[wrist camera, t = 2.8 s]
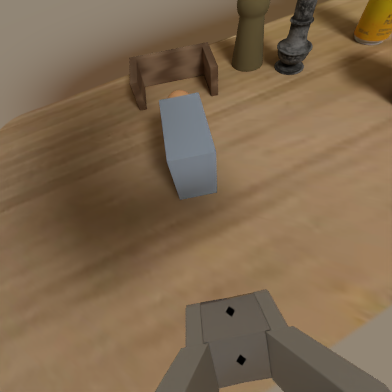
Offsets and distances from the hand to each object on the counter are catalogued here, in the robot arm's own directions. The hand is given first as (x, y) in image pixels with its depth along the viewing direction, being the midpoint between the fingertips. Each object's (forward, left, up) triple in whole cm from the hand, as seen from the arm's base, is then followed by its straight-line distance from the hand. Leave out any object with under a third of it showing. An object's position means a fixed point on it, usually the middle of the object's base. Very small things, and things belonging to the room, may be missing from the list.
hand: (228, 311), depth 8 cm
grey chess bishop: (+22, +38, -15) cm, 46 cm away
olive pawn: (+15, +42, -15) cm, 47 cm away
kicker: (0, +19, -15) cm, 24 cm away
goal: (0, +37, -15) cm, 40 cm away
